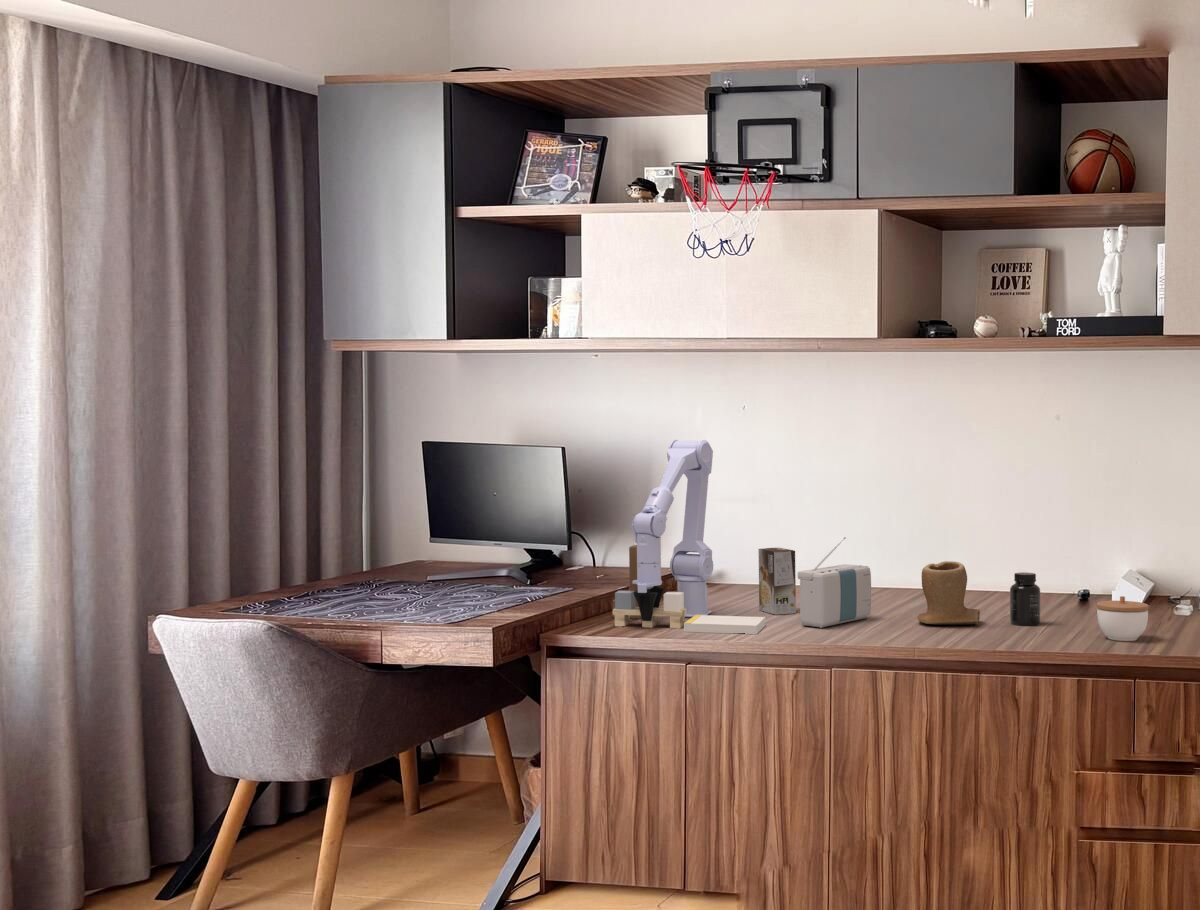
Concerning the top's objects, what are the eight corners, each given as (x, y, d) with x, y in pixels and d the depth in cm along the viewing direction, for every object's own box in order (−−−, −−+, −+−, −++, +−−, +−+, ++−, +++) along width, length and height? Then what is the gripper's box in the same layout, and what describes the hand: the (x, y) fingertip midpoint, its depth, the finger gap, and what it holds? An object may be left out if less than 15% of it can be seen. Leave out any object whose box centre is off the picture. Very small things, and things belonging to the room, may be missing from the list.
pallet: (618, 622, 325) (618, 606, 325) (686, 625, 320) (686, 608, 320) (612, 626, 320) (612, 609, 320) (682, 628, 315) (681, 611, 315)
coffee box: (797, 613, 336) (796, 550, 336) (774, 615, 334) (774, 551, 334) (779, 608, 345) (779, 546, 344) (757, 610, 343) (757, 548, 342)
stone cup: (921, 629, 311) (921, 564, 310) (914, 621, 323) (914, 559, 322) (988, 629, 309) (987, 564, 309) (978, 621, 321) (978, 559, 321)
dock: (695, 623, 323) (695, 614, 323) (765, 625, 318) (765, 616, 318) (684, 631, 311) (683, 622, 310) (756, 634, 306) (756, 625, 306)
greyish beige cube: (667, 608, 321) (667, 591, 321) (683, 608, 320) (683, 592, 320) (663, 610, 317) (663, 594, 317) (680, 611, 316) (680, 594, 316)
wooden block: (612, 617, 333) (611, 546, 332) (617, 615, 337) (617, 544, 337) (646, 619, 330) (645, 546, 330) (652, 616, 334) (651, 545, 334)
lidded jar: (1149, 636, 297) (1149, 594, 297) (1148, 644, 287) (1148, 600, 287) (1097, 633, 301) (1097, 592, 301) (1095, 641, 291) (1095, 598, 291)
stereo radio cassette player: (824, 630, 311) (823, 544, 311) (795, 626, 317) (794, 542, 316) (873, 619, 326) (872, 537, 326) (844, 616, 332) (844, 536, 331)
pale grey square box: (619, 606, 324) (619, 590, 324) (635, 607, 323) (635, 590, 323) (615, 609, 320) (614, 592, 320) (631, 609, 319) (631, 593, 319)
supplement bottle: (1038, 622, 319) (1038, 572, 318) (1041, 626, 312) (1041, 575, 312) (1009, 621, 320) (1008, 571, 320) (1011, 625, 314) (1011, 575, 313)
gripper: (640, 558, 328) (640, 614, 328) (624, 565, 314) (625, 623, 314) (668, 559, 326) (668, 614, 326) (654, 566, 312) (654, 624, 312)
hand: (649, 619), depth 320 cm, fingers closed on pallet, 5 cm apart
